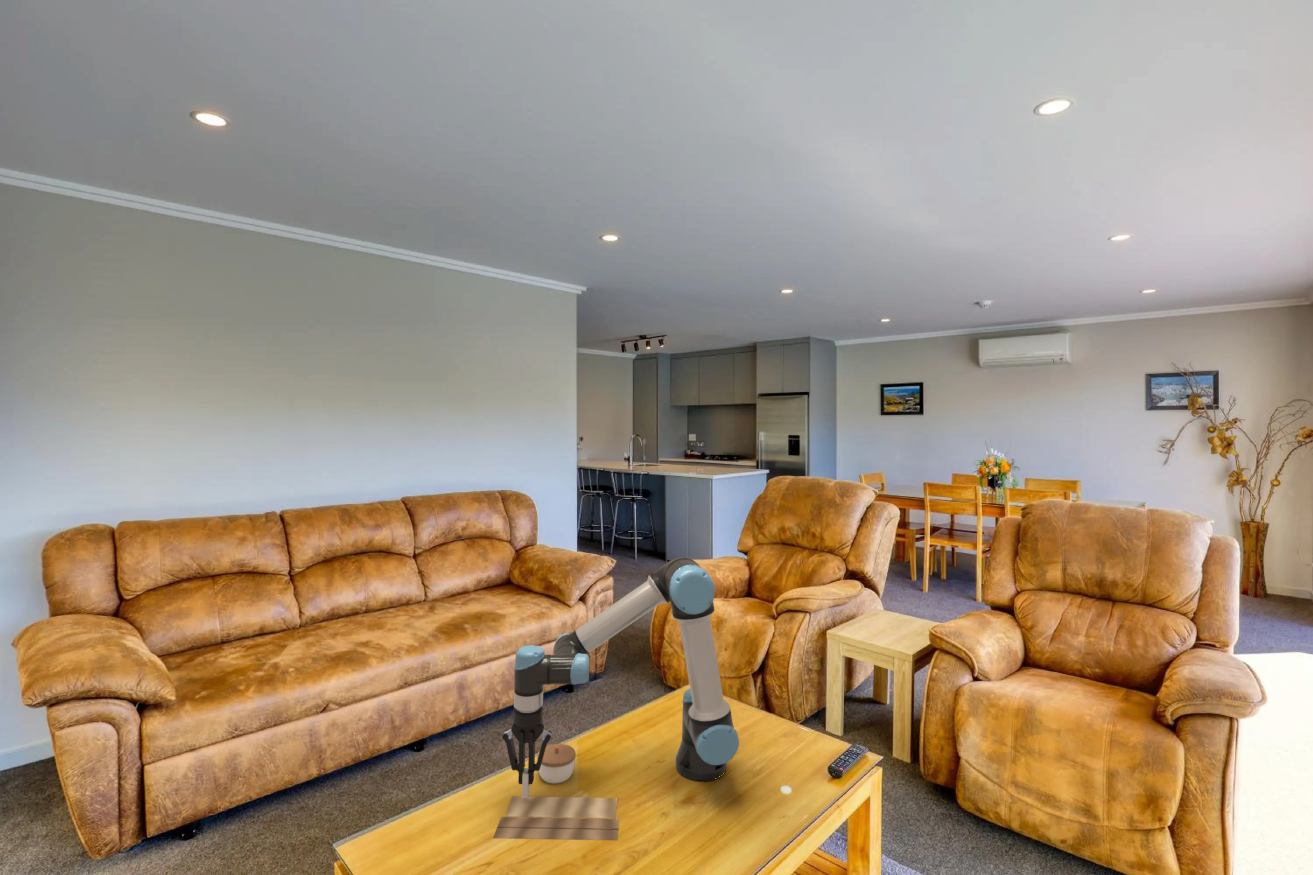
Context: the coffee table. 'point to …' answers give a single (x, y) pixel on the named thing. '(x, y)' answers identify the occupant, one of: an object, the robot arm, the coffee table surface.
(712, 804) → the coffee table surface
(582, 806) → the plank
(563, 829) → the laid board
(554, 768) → the lidded jar
